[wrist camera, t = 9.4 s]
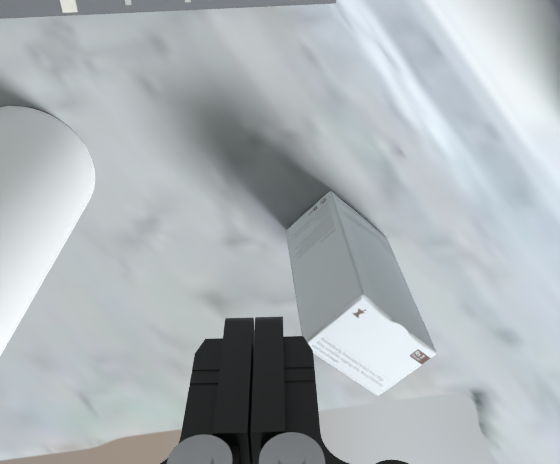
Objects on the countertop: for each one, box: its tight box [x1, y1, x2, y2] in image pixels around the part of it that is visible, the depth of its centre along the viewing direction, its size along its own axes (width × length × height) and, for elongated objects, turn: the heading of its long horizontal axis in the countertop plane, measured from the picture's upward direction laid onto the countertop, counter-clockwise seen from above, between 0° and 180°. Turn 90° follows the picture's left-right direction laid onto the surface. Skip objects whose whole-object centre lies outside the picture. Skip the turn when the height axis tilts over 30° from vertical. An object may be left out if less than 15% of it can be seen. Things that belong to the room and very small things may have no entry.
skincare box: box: [286, 191, 437, 396], centre depth 42 cm, size 8×6×15 cm
